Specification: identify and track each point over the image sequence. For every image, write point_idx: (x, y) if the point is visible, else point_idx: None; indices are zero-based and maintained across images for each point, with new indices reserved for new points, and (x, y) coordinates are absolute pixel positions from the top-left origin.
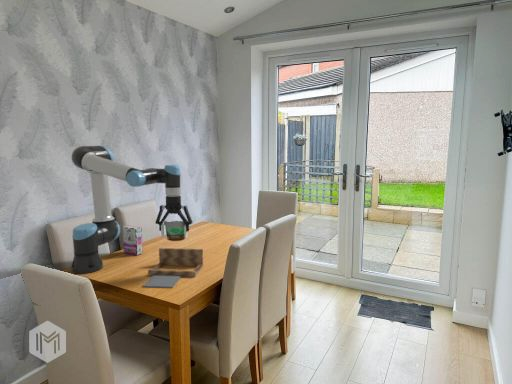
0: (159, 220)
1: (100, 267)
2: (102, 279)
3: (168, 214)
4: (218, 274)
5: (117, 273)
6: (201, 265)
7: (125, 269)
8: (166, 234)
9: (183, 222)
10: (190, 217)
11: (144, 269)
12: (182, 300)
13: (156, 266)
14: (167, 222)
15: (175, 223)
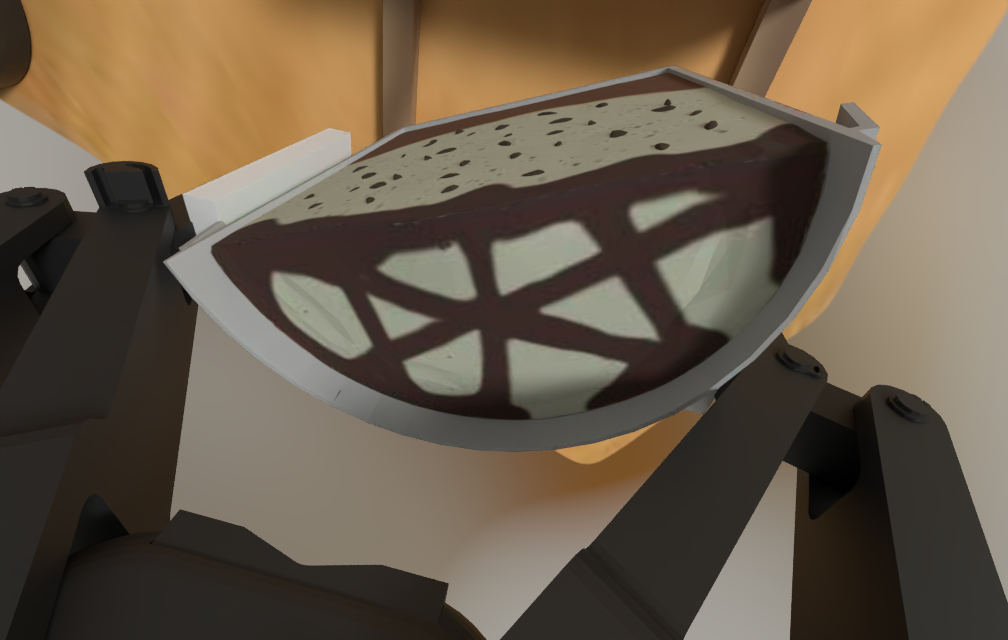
0: (42, 245)
1: (7, 4)
2: (175, 196)
3: (119, 427)
4: (865, 230)
5: (186, 107)
6: (789, 44)
7: (183, 21)
8: (367, 151)
9: (672, 391)
10: (961, 558)
11: (315, 39)
12: (598, 454)
13: (391, 30)
14: (308, 376)
15: (489, 430)
